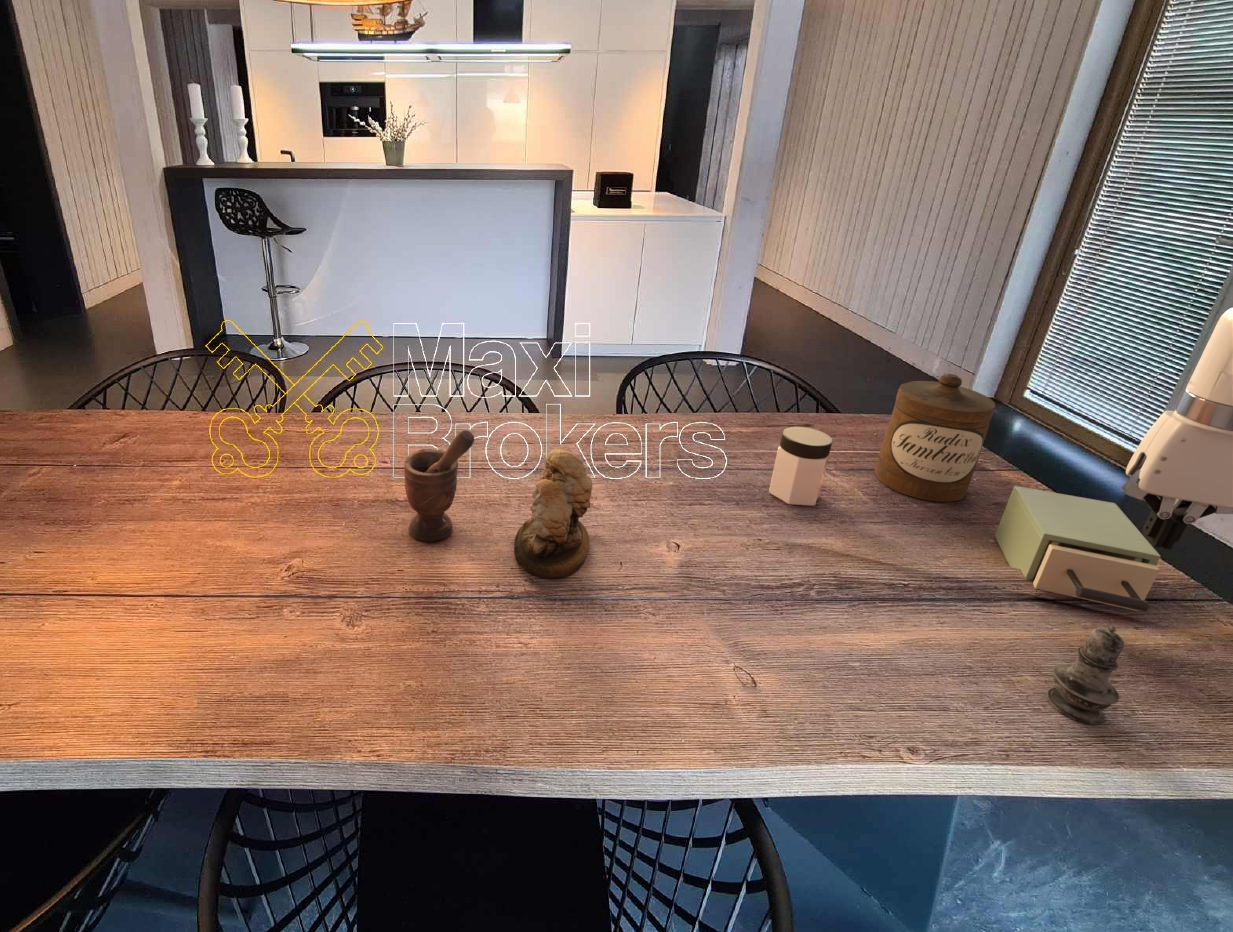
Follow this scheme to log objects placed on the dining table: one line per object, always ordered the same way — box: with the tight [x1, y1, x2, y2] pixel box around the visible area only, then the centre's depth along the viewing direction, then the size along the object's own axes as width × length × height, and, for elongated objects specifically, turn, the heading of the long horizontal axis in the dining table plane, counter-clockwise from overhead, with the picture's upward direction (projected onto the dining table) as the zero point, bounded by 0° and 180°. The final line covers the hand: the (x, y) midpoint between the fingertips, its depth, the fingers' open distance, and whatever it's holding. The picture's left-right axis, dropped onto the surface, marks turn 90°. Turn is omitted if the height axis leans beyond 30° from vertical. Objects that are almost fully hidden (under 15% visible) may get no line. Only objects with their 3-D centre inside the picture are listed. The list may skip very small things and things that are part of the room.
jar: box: [768, 426, 833, 507], centre depth 120 cm, size 9×8×12 cm
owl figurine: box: [513, 448, 593, 580], centre depth 104 cm, size 18×12×17 cm, turn 167°
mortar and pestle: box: [403, 429, 475, 542], centre depth 107 cm, size 12×9×20 cm
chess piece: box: [1045, 625, 1125, 726], centre depth 76 cm, size 6×6×12 cm
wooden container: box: [874, 373, 996, 503], centre depth 123 cm, size 15×15×22 cm
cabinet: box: [994, 485, 1162, 581], centre depth 100 cm, size 15×13×10 cm
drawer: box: [1032, 540, 1160, 613], centre depth 96 cm, size 19×12×8 cm, turn 156°
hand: (1156, 542), depth 85 cm, fingers closed
